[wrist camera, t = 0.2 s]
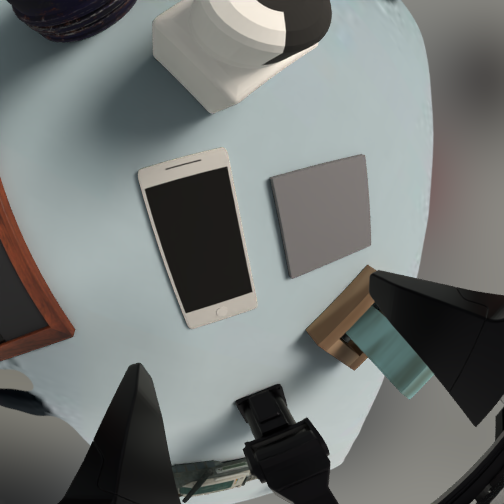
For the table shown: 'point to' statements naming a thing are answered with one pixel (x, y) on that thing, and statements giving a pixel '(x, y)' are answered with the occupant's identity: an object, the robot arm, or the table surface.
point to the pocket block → (344, 321)
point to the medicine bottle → (235, 43)
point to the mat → (323, 212)
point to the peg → (390, 352)
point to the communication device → (210, 477)
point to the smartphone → (200, 235)
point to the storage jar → (70, 16)
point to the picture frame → (24, 295)
